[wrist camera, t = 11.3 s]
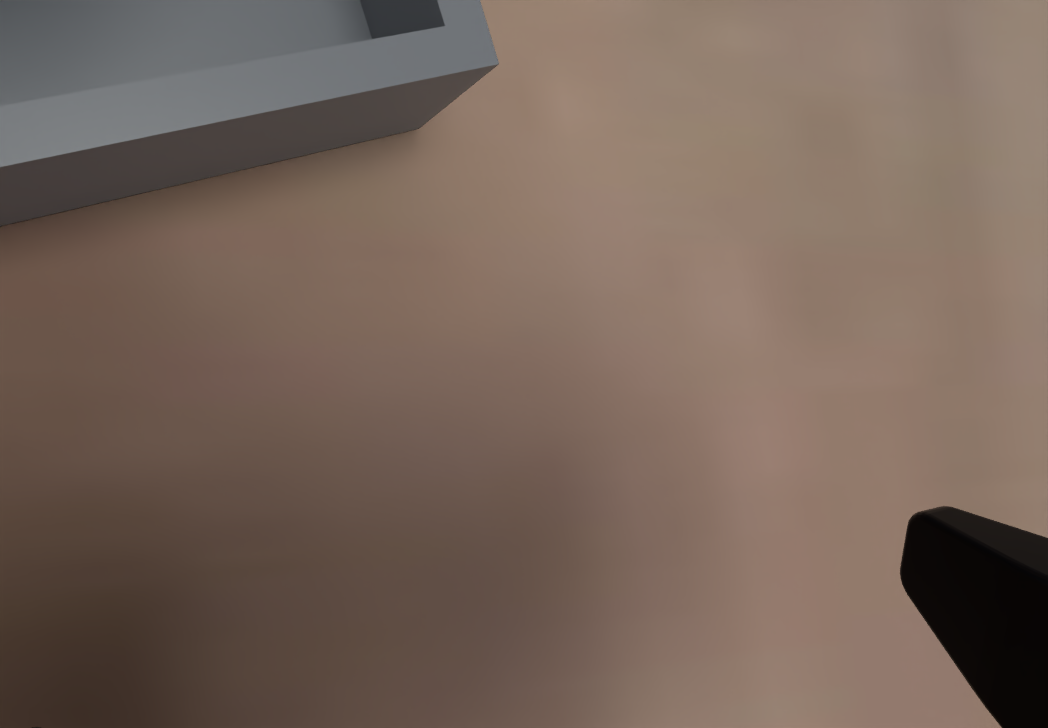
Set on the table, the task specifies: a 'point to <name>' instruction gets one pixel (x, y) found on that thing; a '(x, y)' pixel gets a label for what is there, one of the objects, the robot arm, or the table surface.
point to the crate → (212, 87)
